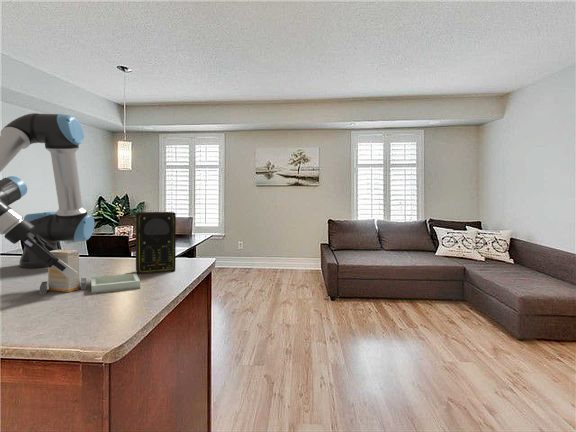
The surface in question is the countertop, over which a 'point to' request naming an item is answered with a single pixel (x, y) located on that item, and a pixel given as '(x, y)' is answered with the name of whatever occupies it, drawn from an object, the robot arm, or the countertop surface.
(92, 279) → the tray
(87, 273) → the countertop surface
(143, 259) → the voltmeter
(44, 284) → the grey small blocks
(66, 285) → the supplement box
